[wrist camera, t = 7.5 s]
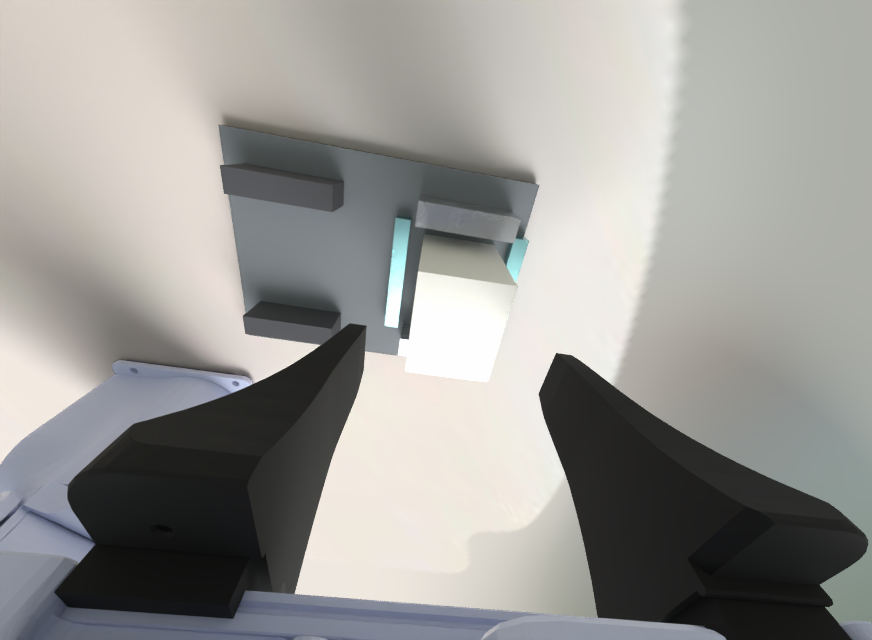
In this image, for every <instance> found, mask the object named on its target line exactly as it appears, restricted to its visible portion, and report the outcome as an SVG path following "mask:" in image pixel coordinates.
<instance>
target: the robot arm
mask: <svg viewBox="0 0 872 640" xmlns="http://www.w3.org/2000/svg"><path fill="white" fill-rule="evenodd" d="M366 328H367V326H366V325H359V324H352V323H349V324H348V325H347V326H345V327H344V328H343V329H341V330H340V331H339V332H338V333H336V334H335V335H334V336H332V337H331V338H330V339H329V340H327V341H326V342H325V343H323V344H322V345H320V346H319V347H318V348H316V349H315V350H314V351H312V352H311V353H309V354H308V355H306V356H305V357H303V358H301V359H300V360H298V361H297V362H295V363H294V364H292V365H290V366H288V367H287V368H285V369H283V370H281V371H279V372H277V373H275V374H274V375H272V376H270V377H268V378H266V379H263V380H261V381H259V382H257V383H254V384H252V381H251V379H250V378H248V377H246V376H239V375H232V374H224V373H216V372H209V371H201V370H193V369H185V368H178V367H170V366H162V365H155V364H147V363H139V362H132V361H124V360H118V361H116V362H114V363H113V364H112V368H113V371H114V373H115V374H114V375H113V376H112V377H110V378H109V379H107V380H106V381H104V382H103V383H102V384H100V385H99V386H97V387H96V388H94V389H93V390H92V391H90V392H89V393H87V394H86V395H84V396H83V397H82V398H80V399H79V400H77V401H76V402H75V403H73V404H72V405H70V406H69V407H67V408H66V409H65V410H63V411H62V412H60V413H59V414H57V415H56V416H55V417H53V418H52V419H50V420H49V421H47V422H46V423H45V424H43V425H42V426H40V427H39V428H38V429H36V430H35V431H33V432H32V433H30V434H29V435H28V436H27V437H25V438H24V439H23V440H22V441H21V442H20V443H19V444H18V445H16V446H15V447H14V448H13V450H12V451H11V452H10V453H9V454H8V455H7V456H6V458H5V459H4V460H3V462H2V463H1V465H0V640H872V622H865V621H847V622H842V623H838V622H837V621H836V620H835V619H834V617H833V616H832V615H831V614H830V613H829V611H828V610H827V609H826V608H825V607H830V606H832V605H833V601H832V599H831V598H830V597H829V596H828V594H827V593H826V592H825V591H824V590H823V589H822V588H821V587H820V584H821V583H823V582H825V581H826V580H828V579H829V578H831V577H833V576H835V575H836V574H838V573H840V572H841V571H843V570H845V569H846V568H848V567H850V566H851V565H852V564H854V563H855V562H856V561H858V560H859V559H860V558H861V557H862V556H863V555H864V554H865V552H866V550H867V546H868V540H867V538H866V535H865V534H864V533H863V532H862V531H861V530H860V529H859V528H858V527H857V526H855V525H854V524H853V523H852V522H851V521H850V520H849V519H848V518H847V517H846V516H844V515H843V514H842V513H841V512H840V511H839V510H837V509H836V508H835V507H833V506H832V505H830V504H829V503H827V502H825V501H822V500H820V499H818V498H815V497H813V496H810V495H808V494H806V493H803V492H801V491H799V490H796V489H794V488H791V487H789V486H787V485H784V484H782V483H780V482H778V481H775V480H773V479H771V478H768V477H766V476H764V475H762V474H760V473H758V472H756V471H754V470H751V469H749V468H747V467H745V466H743V465H741V464H739V463H737V462H735V461H733V460H731V459H729V458H727V457H725V456H723V455H721V454H719V453H717V452H715V451H714V450H712V449H710V448H708V447H706V446H704V445H702V444H701V443H699V442H697V441H695V440H693V439H691V438H690V437H688V436H686V435H685V434H683V433H681V432H680V431H678V430H676V429H675V428H673V427H672V426H670V425H668V424H667V423H665V422H663V421H662V420H660V419H659V418H657V417H655V416H654V415H653V414H651V413H649V412H648V411H647V410H645V409H644V408H642V407H641V406H639V405H638V404H637V403H635V402H634V401H633V400H631V399H630V398H628V397H627V396H626V395H624V394H623V393H621V392H620V391H619V390H618V389H616V388H615V387H614V386H612V385H611V384H610V383H609V382H607V381H606V380H605V379H603V378H602V377H601V376H599V375H598V374H597V373H596V372H594V371H593V370H592V369H590V368H589V367H588V366H586V365H585V364H584V363H582V362H581V361H580V360H578V359H577V358H575V357H573V356H572V355H566V354H559V353H556V355H555V357H554V359H553V362H552V364H551V366H550V369H549V371H548V373H547V376H546V378H545V380H544V383H543V385H542V387H541V390H540V392H539V397H540V402H541V407H542V411H543V415H544V419H545V422H546V424H547V427H548V430H549V432H550V435H551V438H552V440H553V443H554V446H555V448H556V451H557V453H558V456H559V458H560V461H561V464H562V466H563V469H564V471H565V474H566V477H567V480H568V483H569V486H570V490H571V493H572V497H573V501H574V505H575V508H576V512H577V516H578V520H579V524H580V528H581V533H582V537H583V541H584V546H585V550H586V556H587V561H588V565H589V570H590V575H591V580H592V586H593V592H594V597H595V603H596V609H597V615H598V618H595V617H582V616H569V615H556V614H541V613H530V612H517V611H503V610H491V609H479V608H466V607H453V606H439V605H427V604H414V603H401V602H388V601H375V600H362V599H350V598H337V597H323V596H311V595H298V594H294V593H295V590H296V586H297V582H298V578H299V574H300V570H301V566H302V563H303V559H304V555H305V551H306V547H307V544H308V540H309V536H310V533H311V529H312V525H313V522H314V518H315V514H316V511H317V507H318V504H319V500H320V497H321V493H322V490H323V486H324V483H325V479H326V476H327V473H328V469H329V466H330V462H331V459H332V456H333V453H334V451H335V448H336V445H337V443H338V440H339V438H340V435H341V433H342V430H343V428H344V425H345V423H346V420H347V418H348V416H349V413H350V411H351V408H352V406H353V403H354V401H355V398H356V396H357V393H358V389H359V386H360V382H361V378H362V374H363V370H364V356H365V342H366ZM236 381H237V382H236Z"/></svg>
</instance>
